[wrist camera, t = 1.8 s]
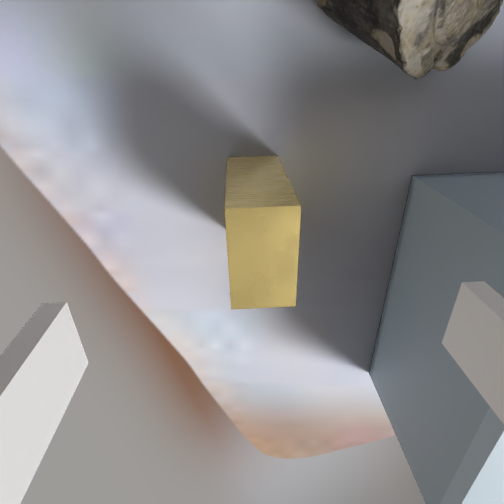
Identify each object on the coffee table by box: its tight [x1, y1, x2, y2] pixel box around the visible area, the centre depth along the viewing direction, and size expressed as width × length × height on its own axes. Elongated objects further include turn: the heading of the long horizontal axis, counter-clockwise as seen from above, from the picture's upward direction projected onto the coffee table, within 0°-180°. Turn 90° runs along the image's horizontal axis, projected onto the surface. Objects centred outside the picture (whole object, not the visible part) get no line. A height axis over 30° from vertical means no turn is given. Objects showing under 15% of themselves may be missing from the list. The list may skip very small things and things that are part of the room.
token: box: [225, 156, 301, 309], centre depth 18 cm, size 5×3×8 cm, turn 1°
